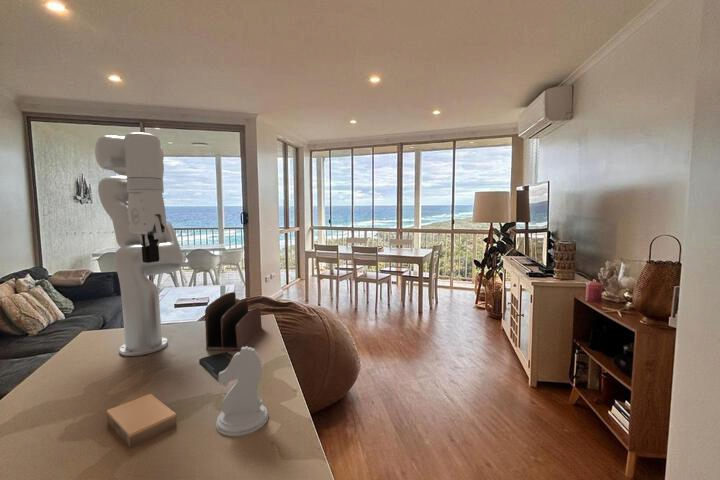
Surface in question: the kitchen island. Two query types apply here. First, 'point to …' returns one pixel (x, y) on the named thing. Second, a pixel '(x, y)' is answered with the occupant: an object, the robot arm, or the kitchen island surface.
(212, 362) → the phone
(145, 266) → the robot arm
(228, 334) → the letter holder
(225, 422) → the chess piece
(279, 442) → the kitchen island surface
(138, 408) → the tan flat block
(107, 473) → the kitchen island surface
